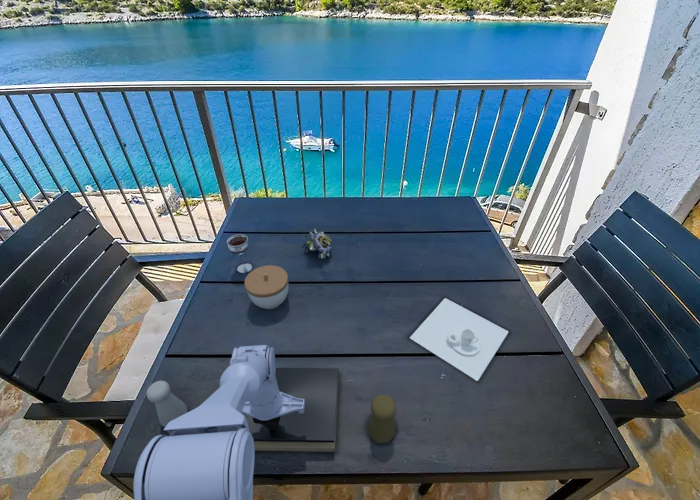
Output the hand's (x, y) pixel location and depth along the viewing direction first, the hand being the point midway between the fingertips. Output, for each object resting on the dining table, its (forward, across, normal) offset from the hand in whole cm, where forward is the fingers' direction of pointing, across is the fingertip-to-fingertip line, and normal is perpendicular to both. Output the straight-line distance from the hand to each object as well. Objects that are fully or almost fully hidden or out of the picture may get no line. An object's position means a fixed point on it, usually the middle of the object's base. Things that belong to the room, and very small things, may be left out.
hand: (273, 425), depth 73 cm
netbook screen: (+2, 0, -6) cm, 6 cm away
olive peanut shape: (+5, -23, -2) cm, 24 cm away
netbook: (+5, 0, -6) cm, 7 cm away
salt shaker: (+5, +24, -3) cm, 24 cm away
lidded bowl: (+5, +9, -40) cm, 41 cm away
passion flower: (+5, -3, -63) cm, 63 cm away
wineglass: (+5, +21, -55) cm, 59 cm away
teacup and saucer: (+5, -46, -28) cm, 54 cm away
